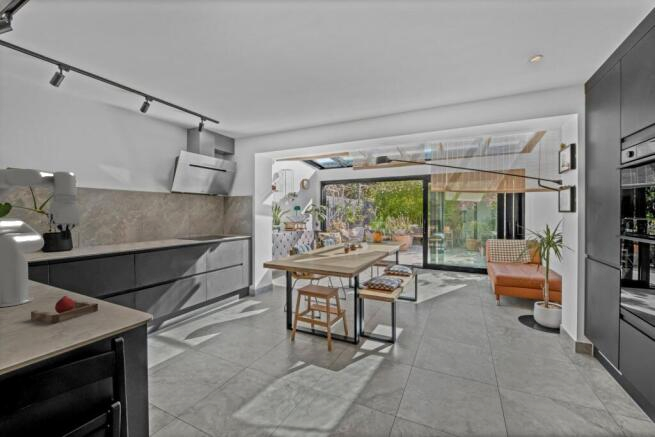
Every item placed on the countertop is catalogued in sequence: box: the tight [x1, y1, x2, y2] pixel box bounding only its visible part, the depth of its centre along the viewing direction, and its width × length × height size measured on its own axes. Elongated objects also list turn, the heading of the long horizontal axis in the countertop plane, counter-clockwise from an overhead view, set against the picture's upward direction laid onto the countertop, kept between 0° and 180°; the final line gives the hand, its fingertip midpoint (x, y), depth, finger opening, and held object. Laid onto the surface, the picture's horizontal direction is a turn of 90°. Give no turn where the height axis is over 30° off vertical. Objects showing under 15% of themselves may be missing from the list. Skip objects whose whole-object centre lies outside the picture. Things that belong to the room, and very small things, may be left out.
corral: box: [30, 300, 99, 325], centre depth 116 cm, size 14×15×3 cm
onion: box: [54, 294, 75, 314], centre depth 116 cm, size 6×6×8 cm
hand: (65, 239), depth 131 cm, fingers closed
